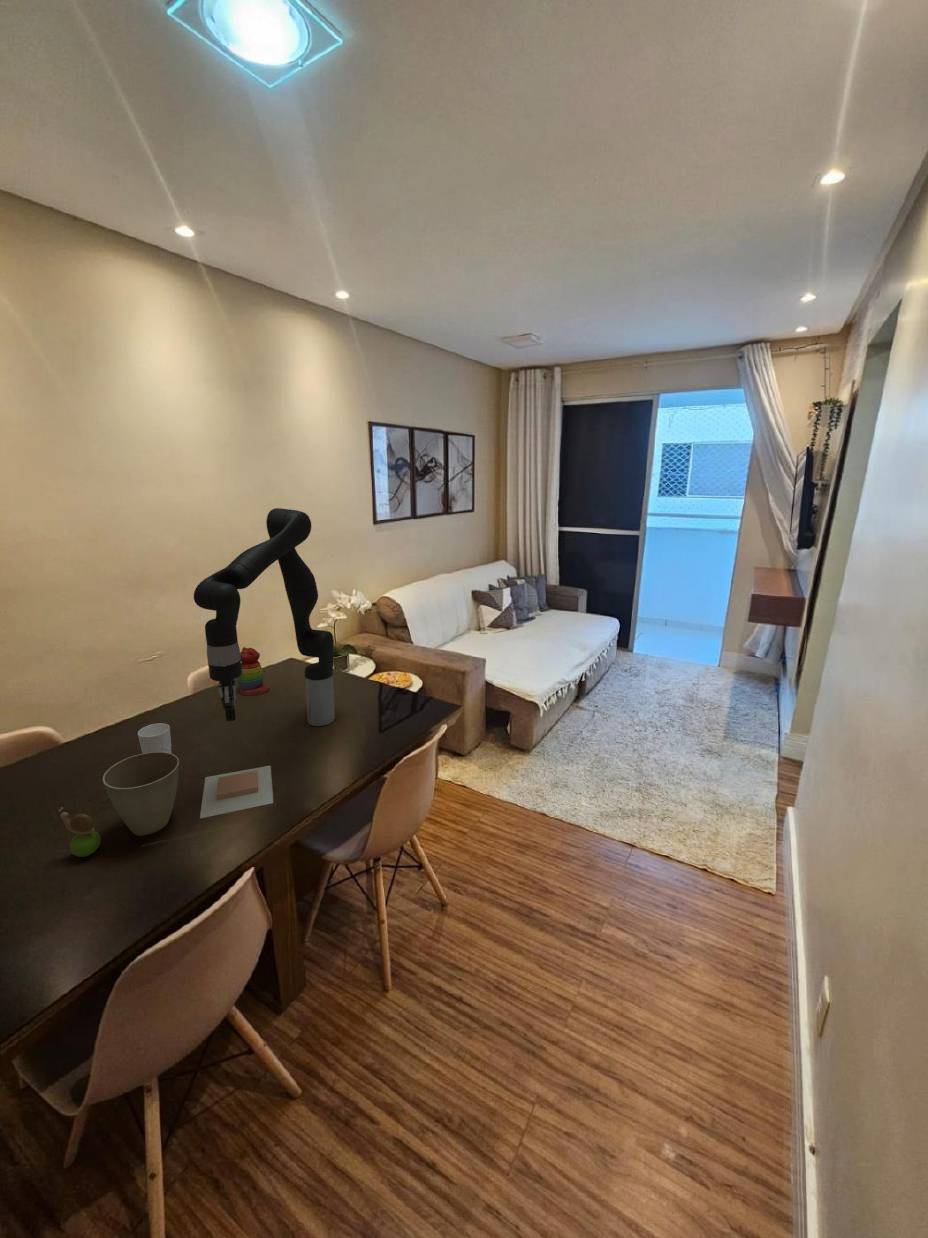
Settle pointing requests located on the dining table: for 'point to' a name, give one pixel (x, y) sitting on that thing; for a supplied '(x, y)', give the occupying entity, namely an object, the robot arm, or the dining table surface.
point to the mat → (237, 802)
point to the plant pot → (143, 790)
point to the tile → (237, 785)
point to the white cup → (155, 738)
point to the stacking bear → (251, 673)
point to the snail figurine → (81, 834)
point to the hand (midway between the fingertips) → (231, 719)
